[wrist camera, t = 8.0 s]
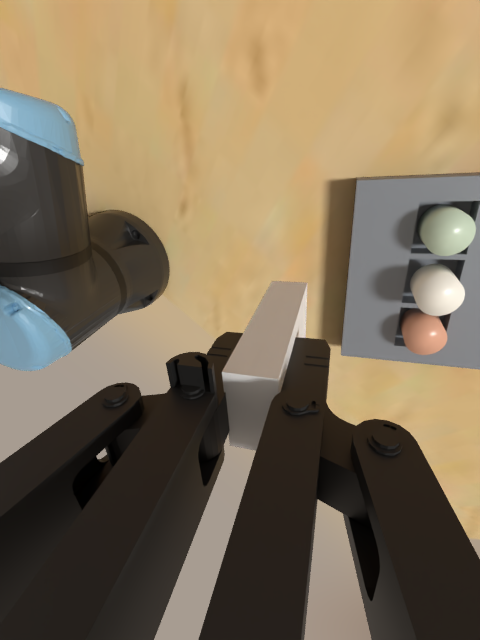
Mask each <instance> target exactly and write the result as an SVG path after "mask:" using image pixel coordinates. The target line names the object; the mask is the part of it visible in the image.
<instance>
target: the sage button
mask: <svg viewBox="0 0 480 640" xmlns="http://www.w3.org/2000/svg"><path fill="white" fill-rule="evenodd" d="M417 232H418V235H419V237H420V239H421V240H422V241H423V243H424V244H425V246H426V247H427V248H428V250H429V251H430V252H432V253H434V254H436V255H439V256H451V255H454V254H457V253H459V252H461V251H463V250H464V249H466V248H467V247H468V246H469V245H470V243H471V242H472V241H473V239H474V236H475V232H476V226H475V222H474V220H473V219H472V218H471V217H470V216H469V215H468V214H466V213H465V212H463V211H462V210H460V209H458V208H457V207H455V206H453V205H450V204H440V205H436V206H434V207H432V208H430V209H428V210H427V211H426V212H425V213H424V214H423V215H422V216H421V218H420V220H419V222H418V225H417Z"/></svg>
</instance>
